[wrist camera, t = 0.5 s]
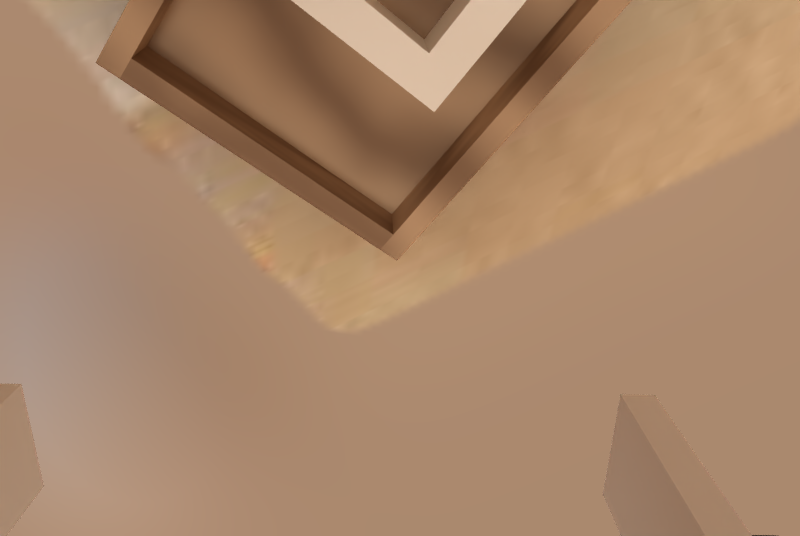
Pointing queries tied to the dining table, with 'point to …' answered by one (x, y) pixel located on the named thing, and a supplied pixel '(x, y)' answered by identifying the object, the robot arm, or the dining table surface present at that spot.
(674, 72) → the dining table surface
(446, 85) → the socket
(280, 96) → the brown wooden tray
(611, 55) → the dining table surface
